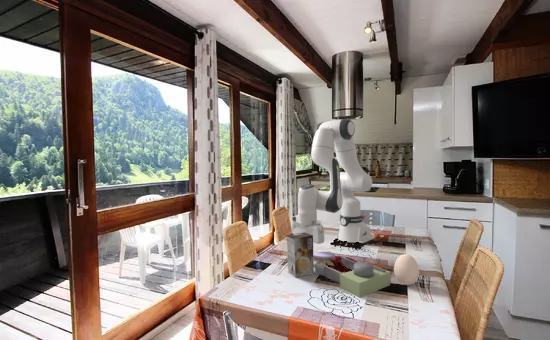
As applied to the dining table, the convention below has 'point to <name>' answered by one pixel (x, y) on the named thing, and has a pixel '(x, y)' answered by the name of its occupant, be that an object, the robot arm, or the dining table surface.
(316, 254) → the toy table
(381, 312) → the dining table surface
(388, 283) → the green block with dome
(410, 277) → the egg
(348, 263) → the chute mount
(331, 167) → the robot arm
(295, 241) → the coffee box
